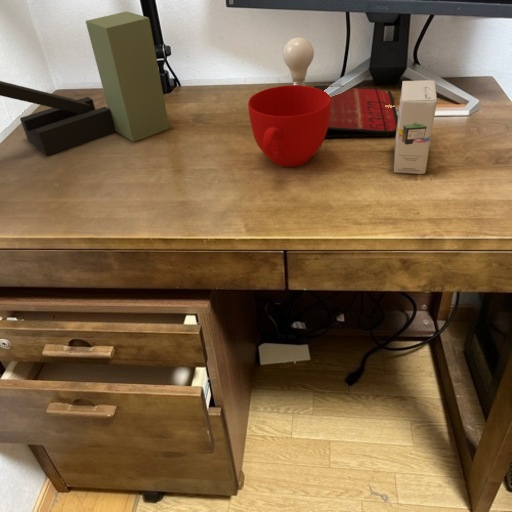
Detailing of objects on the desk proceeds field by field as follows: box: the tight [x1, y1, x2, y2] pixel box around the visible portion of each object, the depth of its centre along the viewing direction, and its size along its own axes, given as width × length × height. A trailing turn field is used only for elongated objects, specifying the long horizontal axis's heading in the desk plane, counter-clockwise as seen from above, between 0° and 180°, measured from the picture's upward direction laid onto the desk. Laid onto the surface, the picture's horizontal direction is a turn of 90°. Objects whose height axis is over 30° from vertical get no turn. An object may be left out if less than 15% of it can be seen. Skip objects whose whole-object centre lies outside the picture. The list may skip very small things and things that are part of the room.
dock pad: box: [19, 96, 116, 157], centre depth 95 cm, size 10×14×4 cm
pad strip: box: [0, 80, 90, 114], centre depth 87 cm, size 3×24×2 cm
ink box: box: [393, 79, 438, 175], centre depth 76 cm, size 8×5×12 cm, turn 167°
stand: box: [85, 11, 170, 143], centre depth 90 cm, size 8×8×20 cm
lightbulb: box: [282, 36, 315, 86], centre depth 104 cm, size 6×6×11 cm
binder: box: [312, 85, 398, 138], centre depth 95 cm, size 16×2×21 cm
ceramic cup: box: [247, 84, 331, 168], centre depth 79 cm, size 13×17×10 cm
